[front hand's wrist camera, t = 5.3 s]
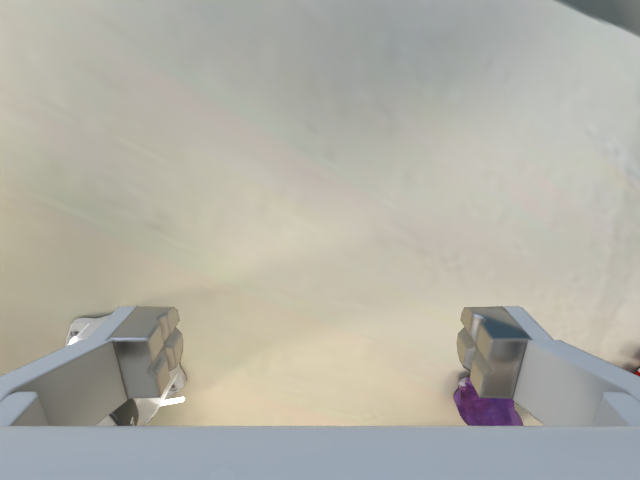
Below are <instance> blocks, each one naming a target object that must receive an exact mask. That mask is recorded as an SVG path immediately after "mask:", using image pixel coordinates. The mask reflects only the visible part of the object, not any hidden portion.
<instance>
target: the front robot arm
mask: <svg viewBox="0 0 640 480" xmlns="http://www.w3.org/2000/svg"><path fill="white" fill-rule="evenodd" d="M178 322H179V315H178V310H177V309H176V308H175V307H155V306H122V307H118V308H117V309H116V310H115V311H114V312H113V313H112V314H111V315H108V316H104V317H101V318H77V319H75V320H74V322H73V323H72V324H71V326H70V329H69V332H68V335H67V339H66V342H65V345H64V348H62V349H60V350H57V351H55V352H53V353H51V354H49V355H46V356H44V357H42V358H40V359H38V360H35V361H33V362H31V363H29V364H27V365H24V366H22V367H20V368H18V369H16V370H13V371H11V372H9V373H7V374H5V375H2V376H0V480H640V376H637V375H635V374H633V373H631V372H629V371H626V370H624V369H622V368H620V367H618V366H615V365H613V364H611V363H609V362H607V361H605V360H602V359H600V358H598V357H596V356H594V355H591V354H589V353H587V352H585V351H583V350H580V349H578V348H576V347H574V346H572V345H569V344H567V343H565V342H563V341H561V340H554V339H553V338H552V337H551V336H550V335H549V334H548V333H547V332H546V331H545V330H544V329H543V328H542V327H541V326H540V325H539V324H538V323H537V322H536V321H535V320H534V319H533V318H532V317H531V316H530V315H529V314H528V313H527V312H526V311H525V310H524V309H523V308H522V307H519V306H500V307H465V308H464V309H463V311H462V314H461V322H462V324H463V325H464V328H463V329H462V330H461V331H460V332H459V333H458V338H457V351H458V356H459V359H460V362H461V364H462V366H463V367H464V368H465V369H467V370H468V371H470V372H471V373H470V381H471V383H472V384H473V386H474V388H475V390H476V392H477V394H478V395H479V397H480V398H508V399H513V401H514V402H516V403H517V404H518V405H519V406H521V407H522V408H523V409H524V410H526V411H527V412H528V413H529V414H531V415H532V416H533V417H534V418H536V419H537V420H538V421H539V422H541V423H542V424H543V425H544V426H144V425H145V424H148V423H149V422H150V420H151V419H152V418H153V417H154V415H155V414H156V412H157V411H158V409H159V407H160V406H162V405H168V404H174V403H179V402H183V401H184V399H185V398H184V397H180V398H174V399H169V400H166V399H168V398H169V397H170V396H172V395H173V394H174V393H176V392H177V391H178V390H180V389H181V388H182V387H183V386H184V385H185V383H186V381H187V379H186V376H185V374H184V372H183V370H182V369H181V367H180V363H179V362H180V360H181V356H182V351H183V337H182V333H181V332H180V331H179V330H178V329H177V328H176V325H177V324H178Z"/></svg>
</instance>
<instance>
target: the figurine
mask: <svg viewBox="0 0 640 480" xmlns="http://www.w3.org/2000/svg"><path fill="white" fill-rule="evenodd" d="M458 386H459V388H458V390H457V392H456V393H455V394H454V397H453V398H454V401H455V403H456V405H457V408H458V411H459V413H460V416H461V417H462V419H463V420H464V421H465V423H466V424H467V425H469V426H523V422H522V419H521V418H520V416H519V414H518V413H517V412H516V410H515V409H514V401H513V399H508V398H480V397H479V395H478V394H477V392H476V390H475V388H474V386H473V384H472V383H471V381H470V377H464V378H462V379H461V380H460V381H459V382H458Z"/></svg>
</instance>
